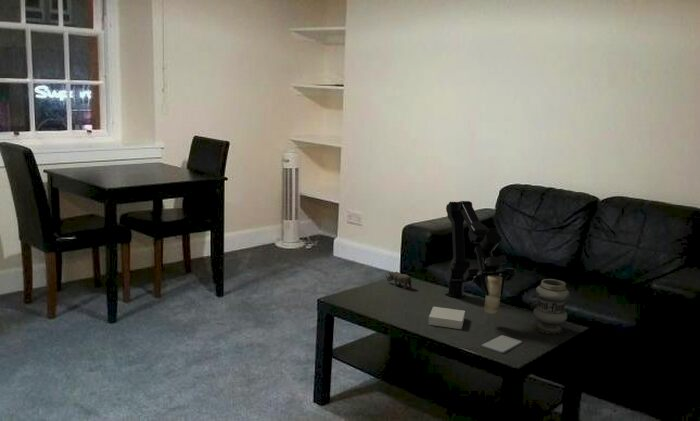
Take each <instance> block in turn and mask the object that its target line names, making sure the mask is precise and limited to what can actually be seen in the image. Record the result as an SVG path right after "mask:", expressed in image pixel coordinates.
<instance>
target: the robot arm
mask: <svg viewBox="0 0 700 421" xmlns="http://www.w3.org/2000/svg"><path fill="white" fill-rule="evenodd" d="M445 211H446V213H447V218H448V220H449V221H450V223H451V234H452V235H451V237H452V259H451V261H450V263H449V268H448V270H447V271H446V273H445V274H444V276H445V277H444V278H445V281H446V282H448V283H449V285H448V292H446V293H445V294H444V295H445V296H449V297H451V298H455V299H460V298H463V297H466V296H467V294H466V293H464V284H465V283H469V282H471V283H473V284H475V285H476V286H477V287H478V289H479V290H481V291H482V293H484V294H485V297H486V296H488V295H489V294H488V289H487V281H486V278H488V276H489V275H496V276H500V277H502V285H501V294H500V297H501V296H503V295H504V288H505V287H504V285H505V282H510V281H512V280H513V279H514V277H515V276H516V275H517V272H516V269H515V268H514V267H504V268H503V269H502V270H501V271H500V267H502V266H503V265H505V264H507V257H506V255H505V254H501V255H498V256H494V255H493V251H495V250H496V248H497V246H498V245H499V244H500V242H501V241H502V236H501V234H499V233H498V232H497V231H495V229H494V228H488V227H487V226H486V225H485V224H483V223H481V220H480V218H479V217H478V215H477V213H476V211H475V209H474V208H473V203H472V201H470V200H460V201H449V202H448V203H447V204H446V208H445ZM464 222H465V223H466V225H467V227H468V229H469V231H468V234H467V235H468V239H469V242H470V243H472V244H476V246H474V249H473V253H474V254H476V259H477V267H471V266H470V265H471V263H470V261H469V260H468V259H466V257H465V256H466V254H465V253H466V252H465V249H466V248H465V230H464V228H465V227H464ZM478 267H479V268H478ZM497 270H499V271H497Z"/></svg>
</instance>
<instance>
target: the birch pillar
mask: <svg viewBox="0 0 700 421" xmlns="http://www.w3.org/2000/svg"><path fill="white" fill-rule="evenodd" d="M486 278H487V279H486V280H487V281H486V286H487V289H488V294H489V295H488V296H486V295H485V299H484V307H483V308H484V309H483V311H484V312H485V313H487V314H492V315H495V314H499V310H500V305H501V304H500V303H501V302H500V301H501V295H500V294H501V285H502V277H500V276H496V275H489V276H488V277H486Z"/></svg>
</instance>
